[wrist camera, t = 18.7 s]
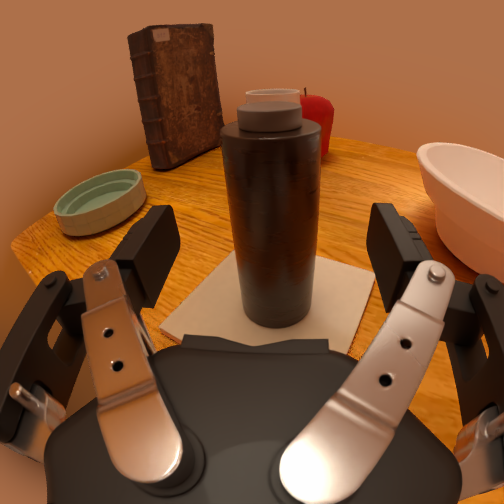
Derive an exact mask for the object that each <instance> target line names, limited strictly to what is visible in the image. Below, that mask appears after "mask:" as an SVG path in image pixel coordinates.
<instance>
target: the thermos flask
mask: <svg viewBox="0 0 504 504" xmlns="http://www.w3.org/2000/svg"><path fill="white" fill-rule="evenodd" d="M237 117H238V121H235V122H232V123H229V124H227V125H225V126H223V127H222V128H221V129H220V140H221V148H222V156H223V164H224V172H225V180H226V188H227V196H228V203H229V211H230V218H231V226H232V233H233V241H234V248H235V255H236V262H237V270H238V277H239V284H240V291H241V298H242V304H243V309H244V312H245V314H246V315H247V316H248V317H249V318H250V320H252V321H253V322H254V323H256V324H258V325H260V326H263V327H267V328H274V329H277V328H286V327H290V326H292V325H295V324H297V323H298V322H300V321H301V320H302V319H303V318H304V317H305V316H306V315H307V314H308V312H309V310H310V307H311V300H312V291H313V281H314V270H315V259H316V246H317V232H318V217H319V198H320V175H321V126H320V125H319V124H318V123H316V122H314V121H311V120H308V119H303V118H302V106H301V105H300V104H297V103H293V102H285V101H266V102H255V103H249V104H244V105H241V106H239V107H238V108H237Z"/></svg>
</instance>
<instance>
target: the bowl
mask: <svg viewBox="0 0 504 504" xmlns="http://www.w3.org/2000/svg"><path fill="white" fill-rule="evenodd" d="M417 158H418V162H419V166H420V170H421V175H422V179H423V183H424V187H425V190H426V193H427V194H428V196H429V197H430V199H431V200H432V202H433V203H434V204H435V222H436V229H437V233H438V235H439V237H440V239H441V240H442V242H443V243H444V244H445V246H446V247H447V248H448V249H449V250H450V251H451V252H452V253H453V254H454V256H456V257H457V258H458V259H459V260H460V261H462V262H463V263H464V264H465V265H467V266H468V267H470V268H471V269H473V270H474V271H475V272H477V273H479V274H488V275H491V276H493V277H495V278H497V279H498V280H499V281H500V282H501V283H504V159H502V158H500V157H498V156H495V155H493V154H490V153H488V152H485V151H482V150H478V149H475V148H472V147H468V146H464V145H458V144H453V143H441V142H438V143H428V144H424V145H422V146H421V147H420V148H419V149H418V151H417Z"/></svg>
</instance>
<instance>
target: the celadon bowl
mask: <svg viewBox="0 0 504 504" xmlns="http://www.w3.org/2000/svg"><path fill="white" fill-rule="evenodd" d="M145 199H146V192H145V188H144V184H143V181H142V177H141V173H140V172H138V171H137V170H132V169H122V170H115V171H110V172H106V173H103V174H100V175H97V176H95V177H92V178H90V179H88V180H86V181H83V182H82V183H80V184H78V185H77V186H75V187H73V188H71V189H70V190H69V191H67V192H66V193H65V194H64V195H63V196H62V197H61V198H60V199H59V200H58V201H57V202H56V204H55V207H54V213H55V216H56V218H57V221H58V223H59V225H60V227H61V230H62V232H63V233H65V234H67V235H69V236H84V235H91V234H96V233H99V232H102V231H105V230H107V229H110V228H112V227H114V226H116V225H118V224H119V223H121V222H123V221H124V220H126V219H127V218H128V217H130V216H131V215H132V214H133V213H134V212H136V211H137V209H138V208H139V207H140V206H141V205H142V204H143V203H144V201H145Z"/></svg>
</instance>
